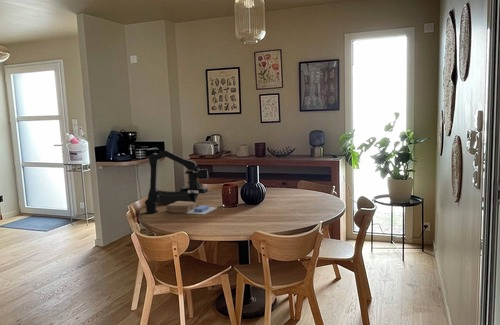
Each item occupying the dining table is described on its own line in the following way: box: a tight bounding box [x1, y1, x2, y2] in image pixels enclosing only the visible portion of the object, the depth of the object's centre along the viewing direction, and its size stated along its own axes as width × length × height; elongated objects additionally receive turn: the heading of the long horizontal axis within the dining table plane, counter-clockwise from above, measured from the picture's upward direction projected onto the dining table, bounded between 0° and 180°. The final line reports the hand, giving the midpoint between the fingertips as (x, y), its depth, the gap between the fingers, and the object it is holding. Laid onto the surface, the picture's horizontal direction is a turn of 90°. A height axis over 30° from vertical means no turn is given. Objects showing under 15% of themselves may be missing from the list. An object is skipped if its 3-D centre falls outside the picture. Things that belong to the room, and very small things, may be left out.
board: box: [166, 201, 199, 214], centre depth 275 cm, size 14×16×4 cm
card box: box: [194, 205, 210, 212], centre depth 269 cm, size 9×6×2 cm, turn 157°
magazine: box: [155, 189, 193, 205], centre depth 294 cm, size 17×3×30 cm
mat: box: [186, 206, 218, 215], centre depth 269 cm, size 18×14×1 cm
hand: (194, 202), depth 271 cm, fingers closed
